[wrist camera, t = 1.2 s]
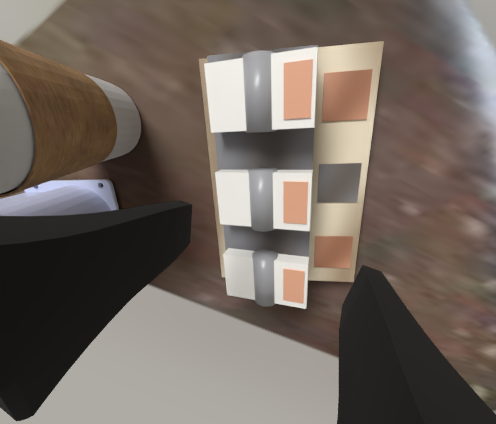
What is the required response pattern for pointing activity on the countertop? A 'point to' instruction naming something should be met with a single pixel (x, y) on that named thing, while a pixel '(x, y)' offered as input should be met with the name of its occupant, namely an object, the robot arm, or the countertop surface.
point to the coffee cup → (57, 120)
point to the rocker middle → (265, 198)
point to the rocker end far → (267, 277)
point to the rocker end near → (263, 91)
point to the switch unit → (311, 161)
